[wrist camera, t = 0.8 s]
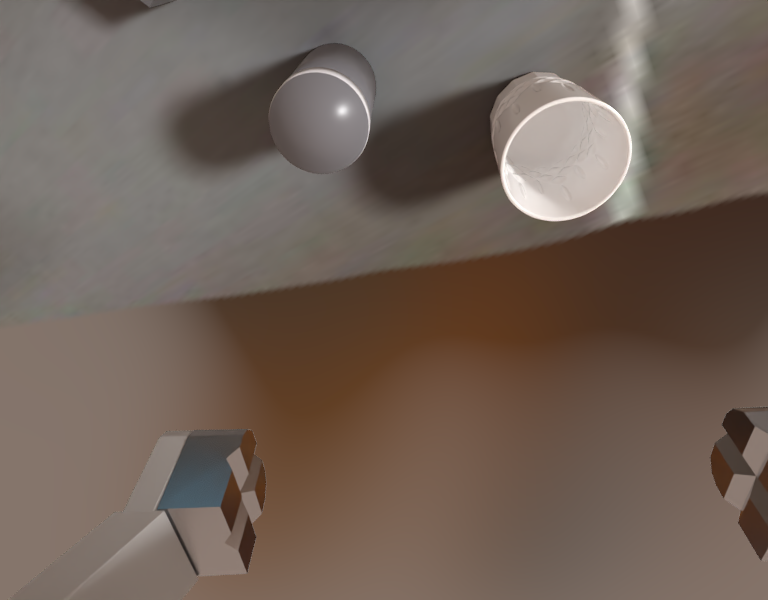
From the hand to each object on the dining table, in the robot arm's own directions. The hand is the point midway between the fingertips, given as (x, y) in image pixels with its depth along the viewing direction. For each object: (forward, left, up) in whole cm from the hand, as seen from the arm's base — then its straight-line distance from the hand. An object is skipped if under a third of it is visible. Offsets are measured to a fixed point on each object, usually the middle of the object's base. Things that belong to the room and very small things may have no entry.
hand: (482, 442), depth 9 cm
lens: (+6, -4, -36) cm, 36 cm away
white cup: (-2, +9, -36) cm, 37 cm away
